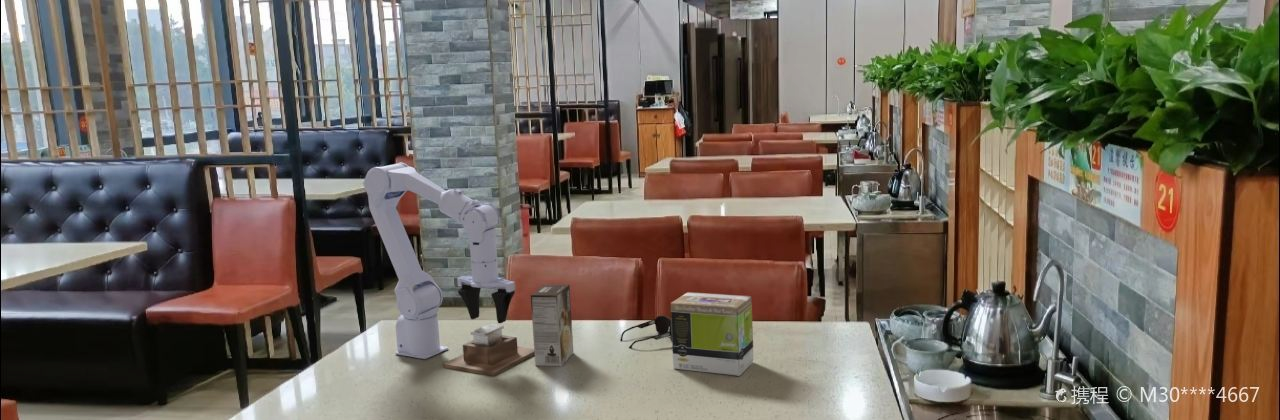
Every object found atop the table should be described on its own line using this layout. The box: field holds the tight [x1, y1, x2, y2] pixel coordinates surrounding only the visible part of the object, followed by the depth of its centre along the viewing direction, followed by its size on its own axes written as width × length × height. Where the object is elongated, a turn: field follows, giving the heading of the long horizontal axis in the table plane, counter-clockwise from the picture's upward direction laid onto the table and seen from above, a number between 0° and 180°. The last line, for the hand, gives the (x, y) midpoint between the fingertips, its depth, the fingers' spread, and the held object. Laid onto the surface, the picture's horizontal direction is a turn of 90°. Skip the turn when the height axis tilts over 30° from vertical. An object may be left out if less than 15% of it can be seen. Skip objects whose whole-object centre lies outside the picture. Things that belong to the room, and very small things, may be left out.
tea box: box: [670, 291, 754, 377], centre depth 183 cm, size 15×10×15 cm
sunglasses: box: [620, 315, 672, 349], centre depth 202 cm, size 10×12×5 cm
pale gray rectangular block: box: [470, 323, 505, 347], centre depth 192 cm, size 4×7×7 cm, turn 152°
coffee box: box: [530, 284, 574, 367], centre depth 191 cm, size 9×6×16 cm
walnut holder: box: [442, 334, 535, 377], centre depth 193 cm, size 14×16×4 cm
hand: (488, 320), depth 192 cm, fingers open, 7 cm apart
